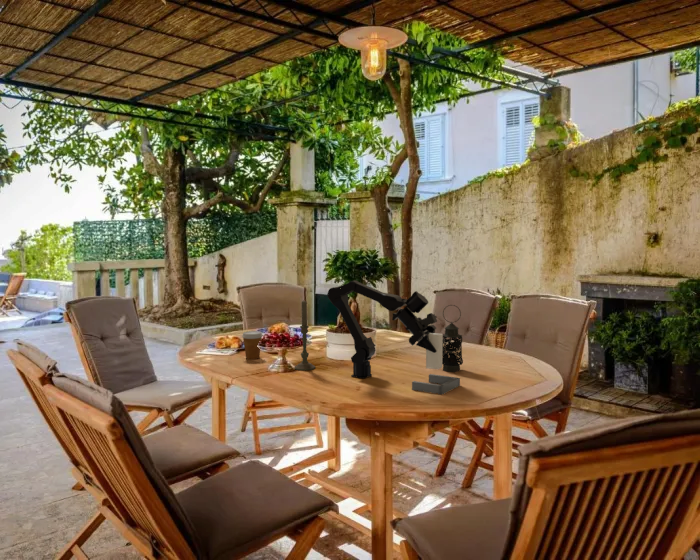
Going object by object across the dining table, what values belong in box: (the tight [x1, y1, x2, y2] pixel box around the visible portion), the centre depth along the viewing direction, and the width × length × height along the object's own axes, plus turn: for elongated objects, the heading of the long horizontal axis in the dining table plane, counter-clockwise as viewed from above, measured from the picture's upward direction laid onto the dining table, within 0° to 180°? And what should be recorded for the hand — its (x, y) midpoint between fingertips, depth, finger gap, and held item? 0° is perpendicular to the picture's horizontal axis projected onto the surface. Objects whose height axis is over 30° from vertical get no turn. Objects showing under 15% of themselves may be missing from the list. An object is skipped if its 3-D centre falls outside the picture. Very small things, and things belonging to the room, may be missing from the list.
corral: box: [411, 373, 461, 395], centre depth 224 cm, size 12×15×3 cm
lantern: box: [442, 304, 464, 373], centre depth 252 cm, size 10×9×28 cm
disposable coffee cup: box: [241, 330, 263, 360], centre depth 282 cm, size 10×10×12 cm
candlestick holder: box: [294, 299, 316, 371], centre depth 258 cm, size 9×9×30 cm
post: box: [425, 333, 444, 370], centre depth 230 cm, size 5×5×13 cm
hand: (437, 350), depth 229 cm, fingers closed on post, 5 cm apart
